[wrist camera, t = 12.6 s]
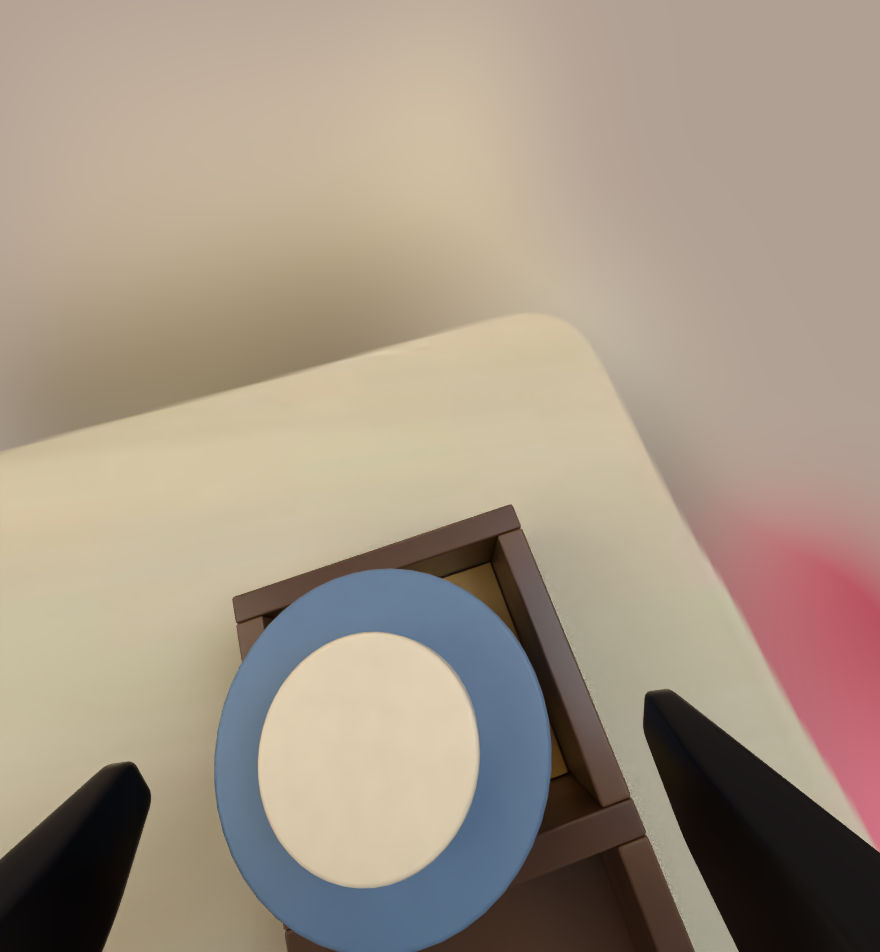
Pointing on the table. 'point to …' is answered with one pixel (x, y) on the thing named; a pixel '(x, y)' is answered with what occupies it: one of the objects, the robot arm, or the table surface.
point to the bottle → (382, 762)
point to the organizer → (572, 760)
